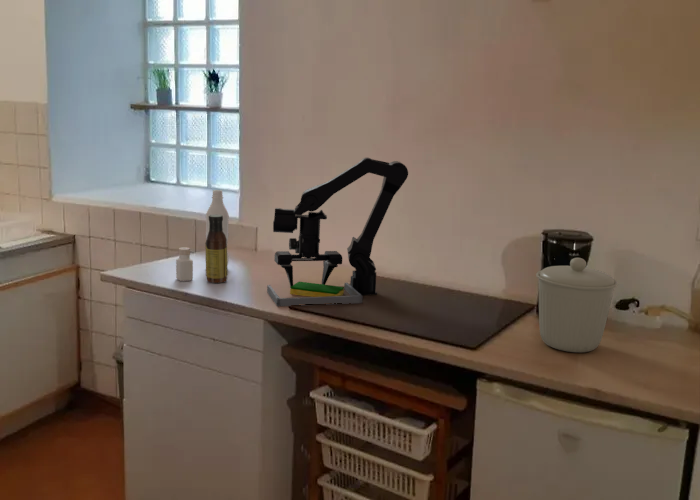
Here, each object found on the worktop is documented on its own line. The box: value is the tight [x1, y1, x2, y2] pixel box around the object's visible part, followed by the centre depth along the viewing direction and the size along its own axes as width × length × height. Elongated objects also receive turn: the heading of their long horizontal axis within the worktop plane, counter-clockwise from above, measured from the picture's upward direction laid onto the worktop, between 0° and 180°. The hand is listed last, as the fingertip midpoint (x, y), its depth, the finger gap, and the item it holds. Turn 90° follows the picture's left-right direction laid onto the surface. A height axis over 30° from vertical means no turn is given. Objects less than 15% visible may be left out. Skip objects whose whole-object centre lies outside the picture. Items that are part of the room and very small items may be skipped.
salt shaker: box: [175, 246, 194, 282], centre depth 211 cm, size 4×4×10 cm
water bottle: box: [204, 189, 230, 266], centre depth 225 cm, size 7×7×25 cm
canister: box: [535, 257, 619, 353], centre depth 166 cm, size 18×18×21 cm
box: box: [266, 282, 364, 307], centre depth 199 cm, size 24×15×2 cm, turn 107°
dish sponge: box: [289, 281, 345, 297], centre depth 203 cm, size 7×14×2 cm, turn 73°
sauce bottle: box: [204, 214, 228, 284], centre depth 210 cm, size 6×6×20 cm
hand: (307, 287), depth 206 cm, fingers open, 9 cm apart
